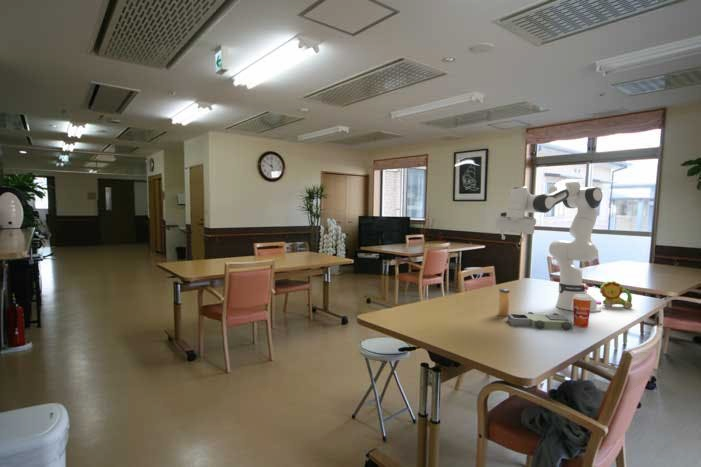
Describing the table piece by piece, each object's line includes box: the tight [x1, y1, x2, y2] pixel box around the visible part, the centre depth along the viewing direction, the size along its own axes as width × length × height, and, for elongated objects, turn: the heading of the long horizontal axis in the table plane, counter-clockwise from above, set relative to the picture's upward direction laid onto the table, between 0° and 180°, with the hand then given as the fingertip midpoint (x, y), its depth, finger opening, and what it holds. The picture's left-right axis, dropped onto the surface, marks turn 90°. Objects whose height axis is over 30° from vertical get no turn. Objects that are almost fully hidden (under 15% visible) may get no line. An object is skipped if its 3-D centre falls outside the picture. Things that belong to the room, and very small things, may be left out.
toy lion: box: [599, 280, 633, 309], centre depth 229 cm, size 16×5×15 cm, turn 72°
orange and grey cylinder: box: [498, 288, 511, 317], centre depth 208 cm, size 5×5×14 cm
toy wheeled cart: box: [524, 311, 574, 331], centre depth 192 cm, size 18×16×4 cm
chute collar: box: [507, 313, 532, 327], centre depth 194 cm, size 9×9×4 cm
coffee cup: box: [572, 294, 592, 328], centre depth 191 cm, size 8×8×15 cm
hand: (512, 240), depth 212 cm, fingers open, 8 cm apart
